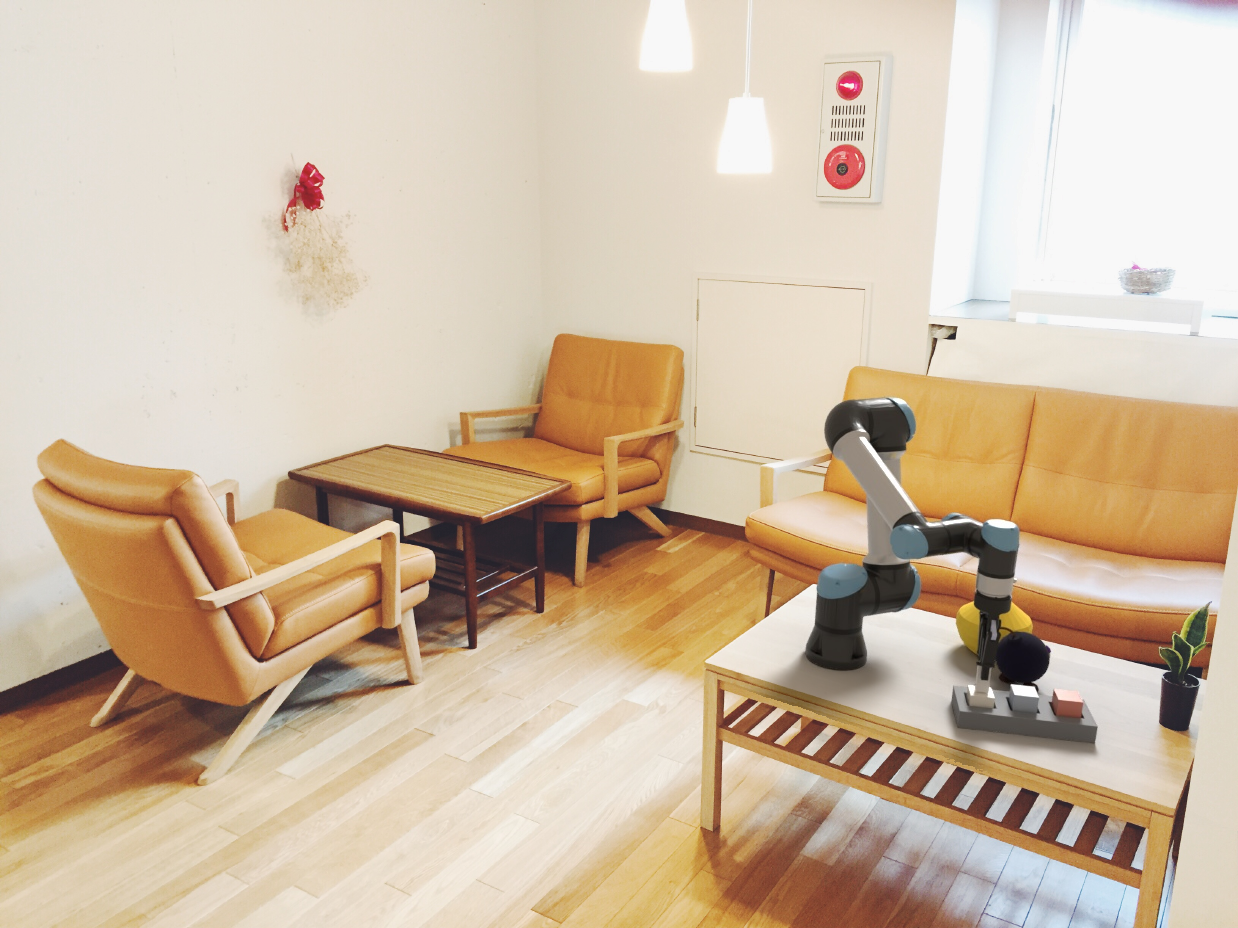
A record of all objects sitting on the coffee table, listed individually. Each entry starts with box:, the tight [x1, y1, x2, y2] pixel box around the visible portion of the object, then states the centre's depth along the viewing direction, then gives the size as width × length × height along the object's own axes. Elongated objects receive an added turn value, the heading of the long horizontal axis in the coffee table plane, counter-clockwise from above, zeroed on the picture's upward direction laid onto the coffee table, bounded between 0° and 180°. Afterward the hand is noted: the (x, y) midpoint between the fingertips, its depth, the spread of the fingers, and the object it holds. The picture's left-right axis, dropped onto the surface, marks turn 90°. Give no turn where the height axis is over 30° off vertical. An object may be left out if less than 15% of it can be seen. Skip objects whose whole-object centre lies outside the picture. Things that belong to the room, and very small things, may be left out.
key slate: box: [1009, 683, 1039, 713], centre depth 216 cm, size 5×5×4 cm
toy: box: [995, 627, 1052, 693], centre depth 232 cm, size 12×14×15 cm
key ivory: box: [966, 684, 995, 708], centre depth 218 cm, size 5×5×4 cm
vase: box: [955, 600, 1034, 656], centre depth 249 cm, size 18×18×19 cm
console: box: [951, 684, 1098, 744], centre depth 217 cm, size 28×12×4 cm, turn 78°
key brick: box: [1051, 688, 1083, 718], centre depth 214 cm, size 5×5×4 cm
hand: (981, 690), depth 217 cm, fingers closed
